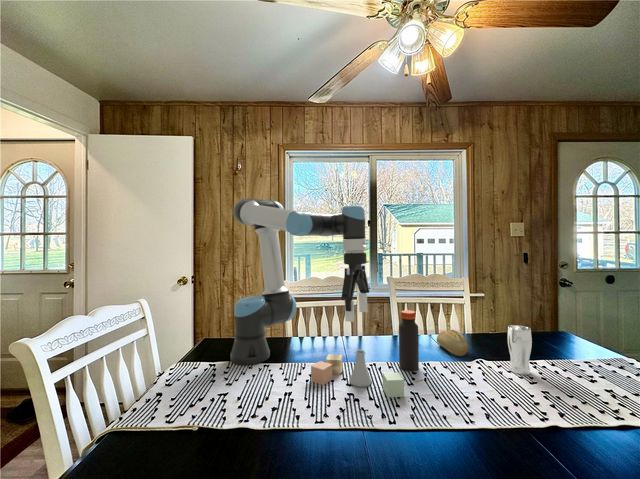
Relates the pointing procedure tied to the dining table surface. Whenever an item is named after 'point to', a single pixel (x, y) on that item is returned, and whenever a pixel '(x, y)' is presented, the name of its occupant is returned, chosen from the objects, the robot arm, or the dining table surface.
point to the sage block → (393, 384)
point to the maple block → (335, 363)
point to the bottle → (408, 342)
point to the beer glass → (519, 348)
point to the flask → (360, 371)
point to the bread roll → (453, 342)
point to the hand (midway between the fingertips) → (357, 316)
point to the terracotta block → (321, 372)
